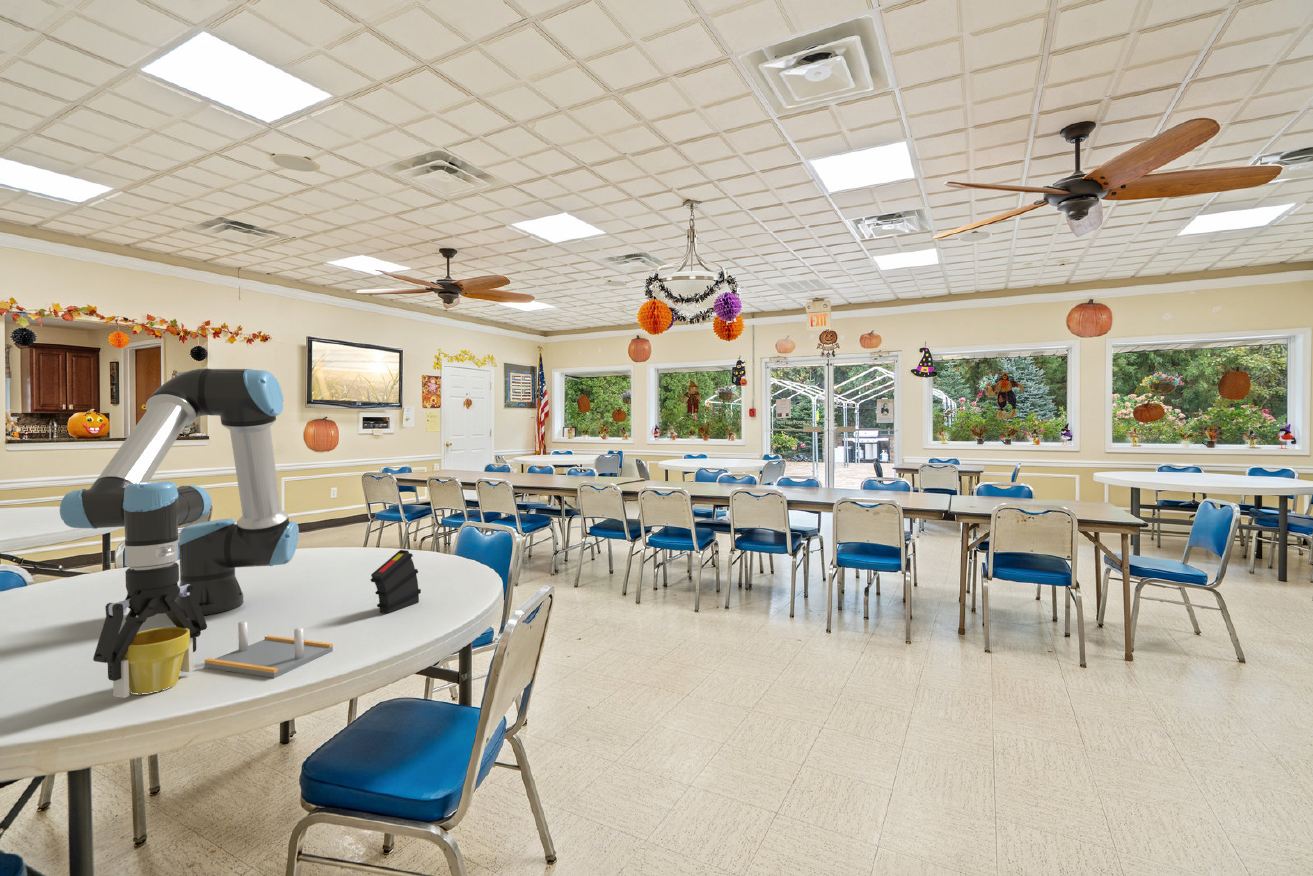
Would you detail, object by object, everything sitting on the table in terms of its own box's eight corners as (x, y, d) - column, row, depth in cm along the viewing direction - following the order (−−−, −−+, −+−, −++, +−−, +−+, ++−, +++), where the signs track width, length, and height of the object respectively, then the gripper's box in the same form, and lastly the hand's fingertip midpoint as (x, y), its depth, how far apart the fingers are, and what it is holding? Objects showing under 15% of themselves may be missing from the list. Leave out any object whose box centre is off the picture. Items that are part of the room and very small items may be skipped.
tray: (204, 667, 117) (203, 633, 117) (268, 642, 130) (267, 611, 130) (274, 678, 112) (273, 642, 112) (332, 650, 125) (332, 618, 125)
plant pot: (204, 675, 113) (203, 625, 113) (160, 700, 103) (159, 645, 103) (150, 675, 113) (149, 626, 113) (101, 700, 103) (100, 646, 103)
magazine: (429, 593, 162) (410, 550, 156) (395, 627, 152) (373, 582, 145) (419, 591, 164) (400, 548, 158) (384, 625, 153) (363, 580, 147)
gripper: (92, 582, 96) (96, 715, 96) (228, 553, 118) (230, 660, 118) (61, 579, 98) (65, 709, 98) (200, 551, 120) (202, 657, 120)
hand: (155, 682), depth 108 cm, fingers closed on plant pot, 10 cm apart
